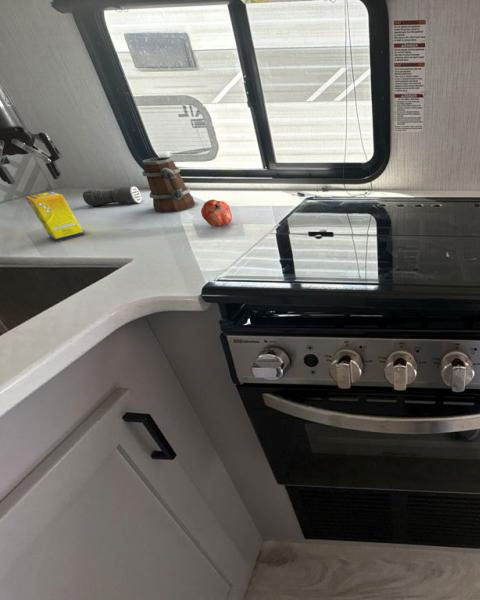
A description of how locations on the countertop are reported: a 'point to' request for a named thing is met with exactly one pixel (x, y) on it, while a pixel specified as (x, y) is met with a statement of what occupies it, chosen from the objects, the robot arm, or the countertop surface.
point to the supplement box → (55, 215)
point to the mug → (166, 185)
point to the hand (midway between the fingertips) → (35, 181)
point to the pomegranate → (216, 213)
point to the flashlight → (112, 196)
